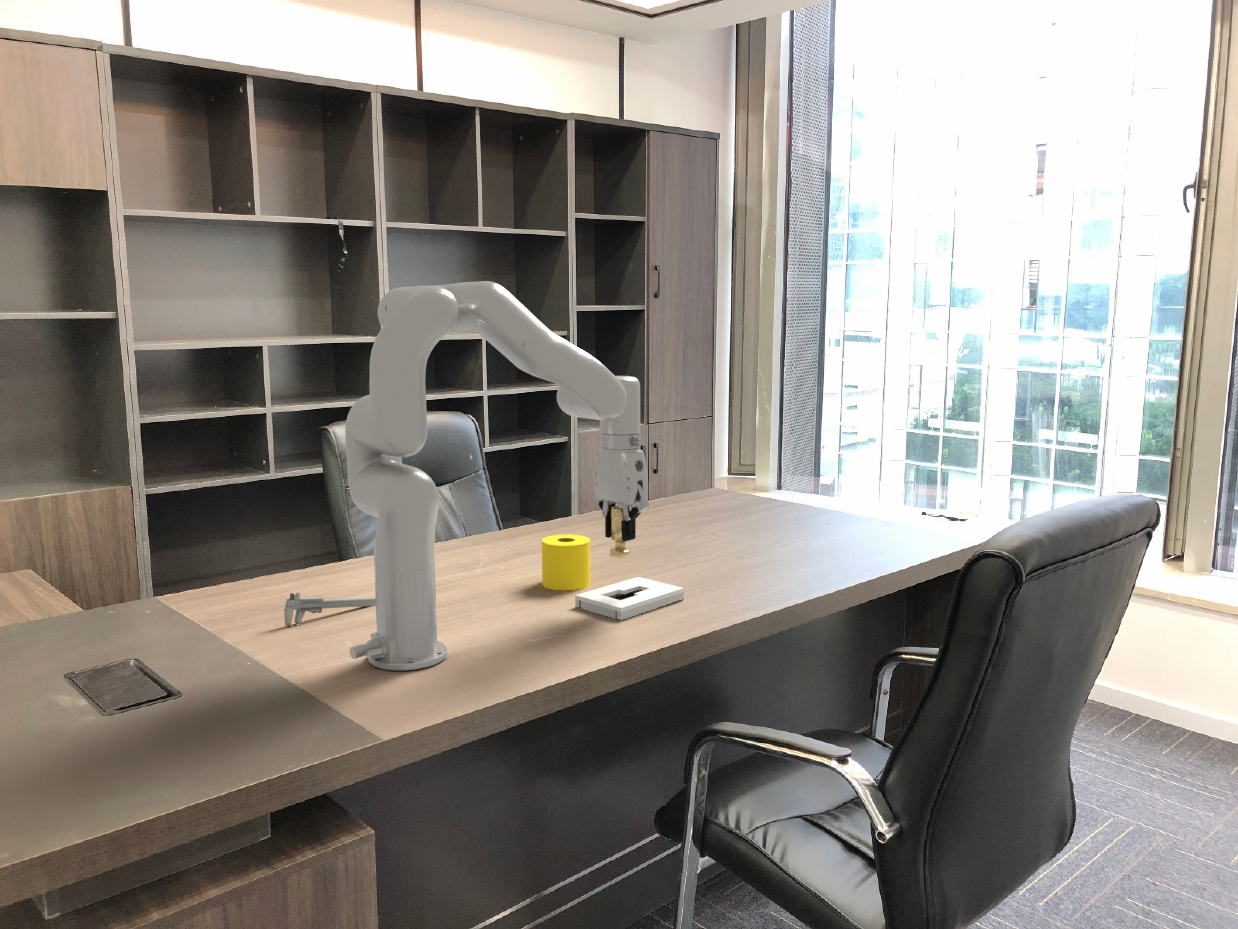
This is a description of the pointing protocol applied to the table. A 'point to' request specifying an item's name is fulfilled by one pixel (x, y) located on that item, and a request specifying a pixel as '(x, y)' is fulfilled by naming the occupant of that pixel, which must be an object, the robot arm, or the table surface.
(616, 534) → the brass peg
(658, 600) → the keyhole plate
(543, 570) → the yellow toilet paper roll
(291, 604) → the caliper
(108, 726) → the table surface
